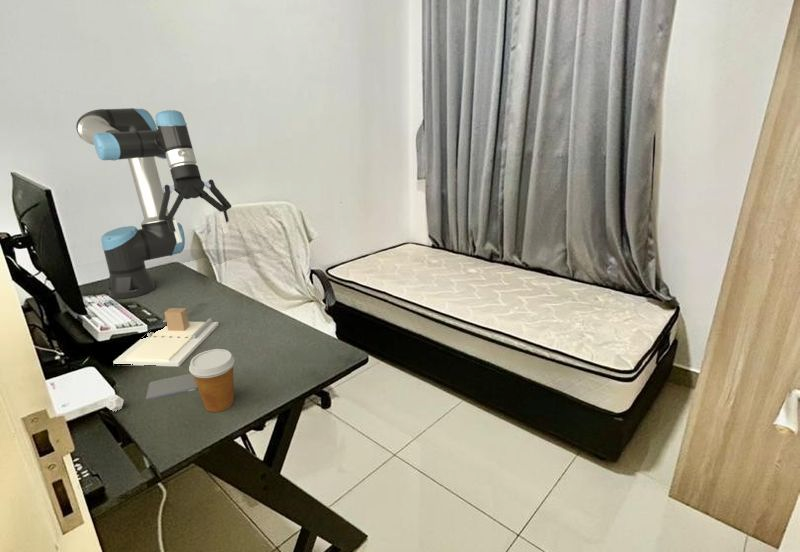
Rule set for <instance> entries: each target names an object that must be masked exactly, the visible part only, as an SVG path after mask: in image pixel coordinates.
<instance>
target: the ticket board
mask: <svg viewBox="0 0 800 552" xmlns="http://www.w3.org/2000/svg"><path fill="white" fill-rule="evenodd" d="M162 321H163V322H166V318H165V319H164V320H162ZM189 323H204V324H203V325H202V326H201V327H200V328H199V329H198V330H197V331H196V332H195V333H194V334H193V335H192V337H172V336H170V337H165V336H152V334H153V333H154V332H150V331H149V332H150V333H149V332H147V333H146V334H147V336H148V337H146V338H143V337H142V338H143V339H141V338H140V339H139V340H137V341H136V342H135V343H134V344H132V345H131V346H130V347H129V348H127V349H126V350H125V351H124V352H123V353H122V354H121V355H119V356H118V357H117V358H115V359H114V360H113V361H112V362H113V365H114V364H131V365H130V366H144V365H156V366H155V367H181V364H182V363H184V362H185V360H186V359H187V358H188V357H190V355H191V354H193V352H194V351H195V350H196V349H197V348H198V347H199V346H200V345H201V344H202V343H203V342H204V341H206V339H207V338H208V337H209V336H210V335H211V333H213V331H214V330H216V328H217V327H218V326H219V325H220V324H219V321H213V318H212V317H211V318H210V317H209V318H207V320H206V321H189ZM132 364H133V365H132Z"/></svg>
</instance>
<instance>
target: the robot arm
mask: <svg viewBox="0 0 800 552" xmlns="http://www.w3.org/2000/svg"><path fill="white" fill-rule="evenodd" d="M154 118H155V120H154ZM154 118H153V116H152V114H151V113H150V112H149V111H148V110H147V109H144V108H133V107H131V108H130V107H129V108H105V109H104V108H97V109H94V110H90V111H88V112H86V113H84V114H82V115H80V116H79V118H78V120H77V122H76V125H75V126H76V132H77V135H78V136H79V138H80V139H81V140H83V141H84V142H85V143H87V144H89V145H92V146H93V147H94V149H95V153H96V155H97V157H98V158H99V159H100V160H101V161H120V160H127V161H128V164H129V169H130V172H131V176H132V179H133V183H134V187H135V191H136V194H137V198H138V202H139V205H140V209H141V213H142V216H143V219H142V221H141V223H140V227H141V228H139V229H138V228H137V226H134V225H128V226H121V227H117V228H115V229H112V230H109V231H107V232H105V233H103V235H102V236H101V247H102V248H101V249H102V250H103V253H104V257H105V261H106V264H107V269H108V273H109V276H108V286H107V291H108V295H109V297H110V296H111V298H114V299H129V298H135V297H140V296H143V295H145V294H148V293H150V292H152V291H154V290H155V289H156V284H155V280H154V279H153V278H152V276H151V274H150V272H149V270H148V269H147V268H146V264H145V261H151V260H154V259H159V258H164V257H169V256H170V257H171V256H175V255H178V254H180V253H182V252H183V250H184V249H185V244H186V243H185V242H186V239H185V231H184V228H183V226H182V224H181V223H180V222H177V219H175V215H176V213H177V211H178V209H179V208H180V205H181V204H182V202H183V200H190V199H197V198H201V200H202V199H203V200H204V201H206V203H209V205H211V206H212V207H213V208H215V209H216V210H217V211H219V212H218V213H217V214H218V219H219V222H220V226H221V229H222V232H223V235H227V234H230V231H229V230H230V229H229V227H228V224H227V223H229V217H228V212H227V211H228V210H229V209H231V208H232V204H231V203H230V202H229V201H228V199H227V198H226V197H225V196H224V195H223V193H222V192H221V191H220V190H219V189H218V187H217V186H216V185H215V182H214V180H213V179H209V180H207V181H203V180H202V177H201V174H200V170H199V166H198V165H197V159H196V155H195V152H194V148H193V144H192V141H191V137H190V135H189V134H190V133H189V130H188V126H187V122H186V120H185V117H184V114H183V113H182V112H181V111H179V110H175V109H172V110H171V109H169V110H162V111H160V112H157V113H156V114H155V116H154ZM155 157H156V158H159V159H160V160H161V159H162V160H166V161H167V165H168V167H169V168H170V170H169V171H170V175H171V177H172V183H173V185H168V184H165V185H163V187H162V183H161V179H160V178H161V177H160V174H159V171H158V167H157V163H156V160H155ZM205 187H206V188H207V189H209V191H210V192H211V194H212V195H213V196H214V197H215V198H216V199H217V200H216V199H215V198H214V197H212V196H211V195H210V194H209V193H208V192H207V191H205V190H204V189H205ZM173 191H174V192H176V193H177V194H178V195H177V197H176V199H175V202H174V203H173V205H172V206H171V208H170V210H169V208H168V206H169V202H170V198H171V194H172V193H173Z"/></svg>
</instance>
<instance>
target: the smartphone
mask: <svg viewBox="0 0 800 552" xmlns="http://www.w3.org/2000/svg"><path fill="white" fill-rule="evenodd" d="M191 391H198V387H197V385H196V382H195V379H194V377H193V375H192V373H191V372H190V373H186V374H182V375H176V376H172V377H167V378H162V379H158V380H152V381H150V382H149V383H148V386H147V391H146V396H145V400H147V401H148V400H153V399H158V398H163V397H167V396H173V395H178V394H182V393H187V392H191Z"/></svg>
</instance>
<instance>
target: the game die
mask: <svg viewBox="0 0 800 552" xmlns="http://www.w3.org/2000/svg"><path fill="white" fill-rule="evenodd" d="M124 401H125V400H124V399H123V398H122V397H120V396H119V395H118V394H115V395H112V396H109V397H108V400H107V402H108V403H107V402H106V406H105V408H107V409H109V410H110V411H111V410H112V412H114V411H115V412H118V411H119V410H120V409H121V410H122V408H123V405H124V403H125V402H124ZM117 410H118V411H117ZM115 412H114V413H115Z"/></svg>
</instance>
